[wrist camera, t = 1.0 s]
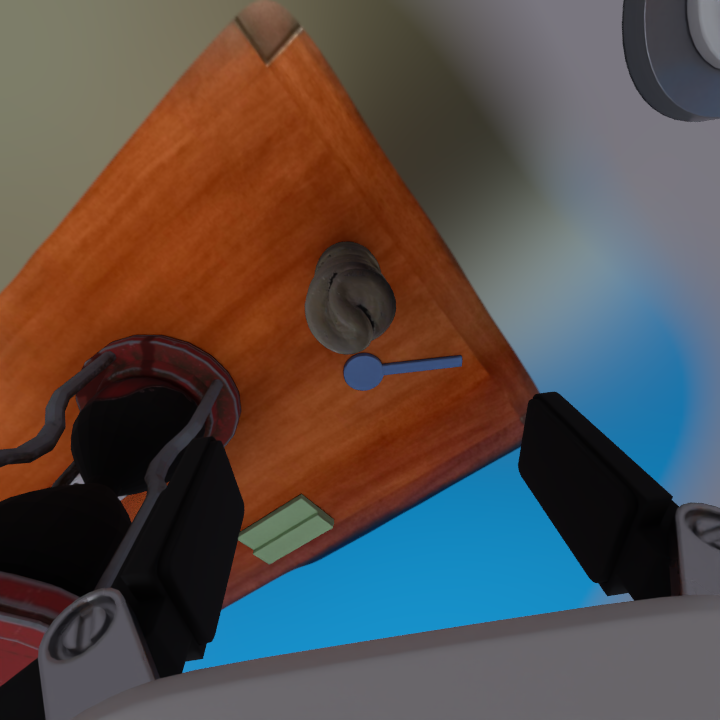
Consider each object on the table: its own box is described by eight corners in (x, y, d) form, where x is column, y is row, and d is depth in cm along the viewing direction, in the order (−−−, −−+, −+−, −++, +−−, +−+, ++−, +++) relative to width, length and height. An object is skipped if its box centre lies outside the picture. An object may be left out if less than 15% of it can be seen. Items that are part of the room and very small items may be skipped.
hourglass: (181, 307, 34) (-97, 553, 12) (268, 425, 41) (199, 712, 19) (48, 372, 36) (-403, 688, 14) (154, 473, 43) (-28, 785, 21)
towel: (301, 493, 47) (300, 502, 45) (334, 519, 50) (334, 528, 48) (237, 533, 49) (234, 542, 48) (271, 555, 52) (270, 565, 51)
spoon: (461, 341, 38) (463, 344, 37) (459, 376, 40) (461, 379, 39) (341, 355, 38) (341, 358, 37) (345, 389, 40) (345, 392, 39)
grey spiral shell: (346, 302, 35) (356, 378, 22) (301, 266, 33) (283, 327, 20) (384, 258, 33) (420, 312, 20) (339, 218, 31) (347, 248, 18)
